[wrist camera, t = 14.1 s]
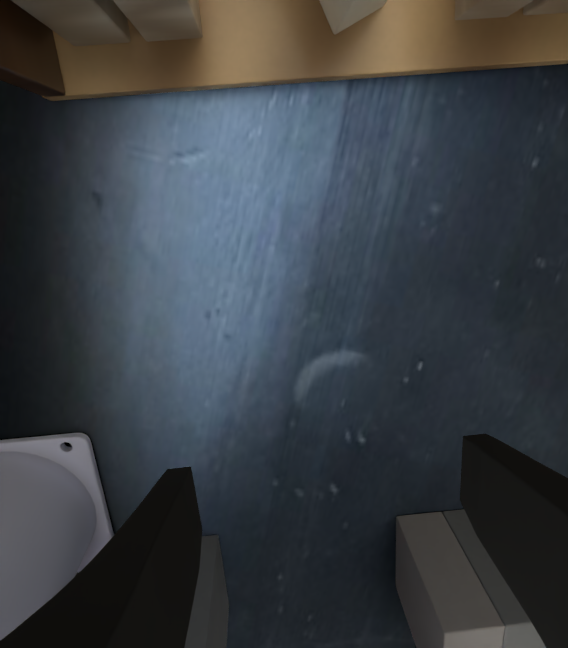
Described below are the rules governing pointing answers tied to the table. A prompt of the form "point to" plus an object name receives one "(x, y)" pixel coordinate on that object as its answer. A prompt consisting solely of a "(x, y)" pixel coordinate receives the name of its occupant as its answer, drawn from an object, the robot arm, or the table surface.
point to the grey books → (407, 589)
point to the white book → (348, 11)
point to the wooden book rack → (262, 43)
